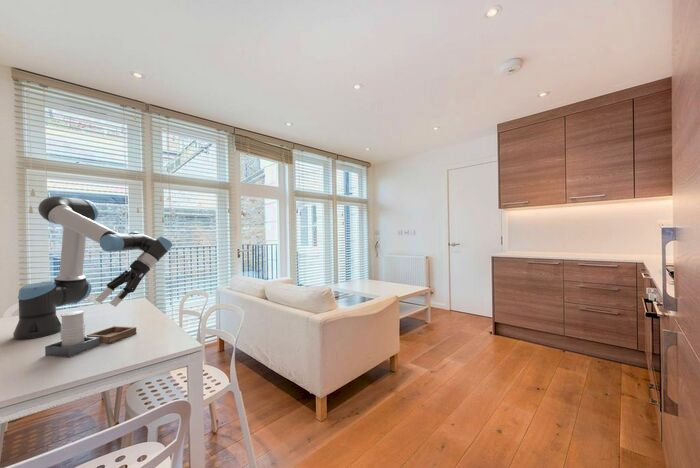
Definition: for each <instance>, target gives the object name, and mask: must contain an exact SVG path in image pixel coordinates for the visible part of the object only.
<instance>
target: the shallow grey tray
mask: <svg viewBox="0 0 700 468" xmlns="http://www.w3.org/2000/svg"><path fill="white" fill-rule="evenodd" d="M84 340H85V342H83V343H80V344H77V345H74V346H71V347H61V346H62V340H61V341H58V342H55V343H52V344H49V345H46V346H44V350H45V351H44V355H45V357H57V358H66V359H67V358H68V359H69V358H71V357H74V356H76V355H79V354H82V353H85V352H87V351H90V350H93V349H95V348H97V347H99V346H100V343H99V338H98V337H87V336H84Z"/></svg>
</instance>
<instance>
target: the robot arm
mask: <svg viewBox="0 0 700 468" xmlns="http://www.w3.org/2000/svg"><path fill="white" fill-rule="evenodd" d="M37 209H38V213H39V216H41V217H42V218H43V219H44V220H46V221H48V222H49V223H51V224H54V225H60V226H61V227H62V228H63V231H62V240H61V241H62V242H61V252H60V260H59V261H60V263H59V273H58V275H57V276H55V277H54V281H53V280H52V281H51V280H47V281H40V282H35V283H30V284H29V283H28V284H27V285H24V286H22V287H20V288H19V290H18V296H17V299H18V322H17V324H16V327H15V329H14V331H13V335H12V336H13V339H14V340H18V341H19V340H30V339H31V340H32V339H36V338H42V337H46V336H50V335H53V334H56V333H59V332H61V328H62V322H61V321H60V319H59V317H58V315H57V308H59V307H62V306H67V305H72V304H77V303H79V302H82V301H84V300H86V299H87V298H88V297H89V296H90V294H91V293H92V283H91V282H90V281H89V280H88V279H87V276H86V275H85V274H84V273H83V272H84V263H85V262H84V261H85V251H86V239H87V238H88V239H90V240H92V241H94V242H96V243H98V244H99V246H100V248H101V250H103V251H105V252H112V253H115V252H116V253H117V252H123V251H124V252H125V251H136V250H139V251H141V252H142V253H141V254H140V255H139V256H137V258H136V259H135V260H133V262H131V264H129V268H131V269H130V270H127V269H125V270H124V271H123V272H122V273H121V274H120V275H118V276H116V277H115V278H114V279H113V280H111V281H110V282H109V283H107V284H106V286H107V287H106V288H105V289H104V290H103V291H102V292H101V293H100V294H99V295H98V296H97V297H95V299H94V301H96V302H98V303H100V304H102V302H104V301H105V300H106V299H107V298H108V297H109V296H110V295H111V294H112V292H115V289H117V288H119V286H122V285H123V284H125V285H124V286H125V287H123V288H122V290H121V291H120V292H119V293H118V294H117V295H116V296H114V297H113V298H112V300H111V301H110V302H109V304H110V305H111V306H114V307H115V308H116V307H117V306H118V305H119V304H120V303H121V302H122V301H123V300H124V299H125V298H126V296H129V294H131V293H134V292H135V291H136V289H137V288H138V286H139V285H140V283H141V281H142V279H143V278H144V277H145V276H146V275H147V274H148V273H149V271H150V270H151V269H153V267H155V266H156V264H157V263H158V262H159V261H160V260H161V259H162V258H163V256H165V255H166V254H167V253H168V252H169V251H170V250H171V249H172V247H173V243H172V241H171V240H169V239H168V238H167V237H165V236H159V237H157V238H154V237H150V236H148V235H146V234H144V233H143V232H139V231H131V232H129V233H128V234H122V233H119V232H117V231H114V230H112V229H110V228H109V227H107V226H105V225H103V224H100V223H98V222H96V219H98V216H99V210H98V207H97V206H96V204H95V203H94V202H92V201H91V200H88V199H83V198H77V197H64V196H50V197H46V198H45V199H43V200H42V201H40V203H39V204H38V208H37Z"/></svg>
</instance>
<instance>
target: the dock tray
mask: <svg viewBox="0 0 700 468" xmlns="http://www.w3.org/2000/svg"><path fill="white" fill-rule="evenodd" d="M134 335H137V327H136V326H123V325H122V326H119V325H113V326H110V327H108V328H104V329H101V330H99V331H96V332H93V333H89V334H86V337H98V338H99V344H104V345H105V344H107V345H112V344H115V343H116V342H119V341H121V340H124V339H127V338H130V337H132V336H134Z"/></svg>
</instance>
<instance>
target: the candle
mask: <svg viewBox="0 0 700 468" xmlns="http://www.w3.org/2000/svg"><path fill="white" fill-rule="evenodd" d="M84 314H85V310H73V311H67V312H63V313H61V314H60V317H61V327H62V328H61V331H60V334H61V335H60V340H61V341H62V346H61V347H71V346H74V345H77V344H80V343H83V342H85V340H84V337H85V336H86V333H85V332H86V331H85V329H86V328H85V327H86V325H85V324H84V323H85V322H84V319H85V318H84Z"/></svg>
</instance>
